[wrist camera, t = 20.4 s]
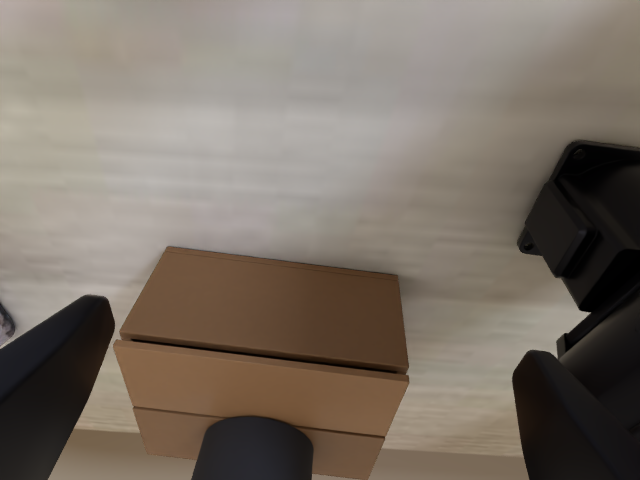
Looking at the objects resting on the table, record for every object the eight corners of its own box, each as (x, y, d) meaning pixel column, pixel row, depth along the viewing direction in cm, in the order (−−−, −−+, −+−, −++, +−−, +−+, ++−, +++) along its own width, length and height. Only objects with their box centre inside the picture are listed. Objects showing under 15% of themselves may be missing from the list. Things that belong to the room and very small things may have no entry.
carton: (184, 357, 32) (146, 454, 26) (167, 246, 25) (110, 344, 19) (365, 379, 32) (368, 481, 26) (398, 275, 25) (411, 381, 19)
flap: (135, 399, 23) (132, 406, 22) (116, 339, 19) (112, 345, 19) (385, 429, 23) (385, 436, 23) (408, 374, 20) (409, 382, 19)
